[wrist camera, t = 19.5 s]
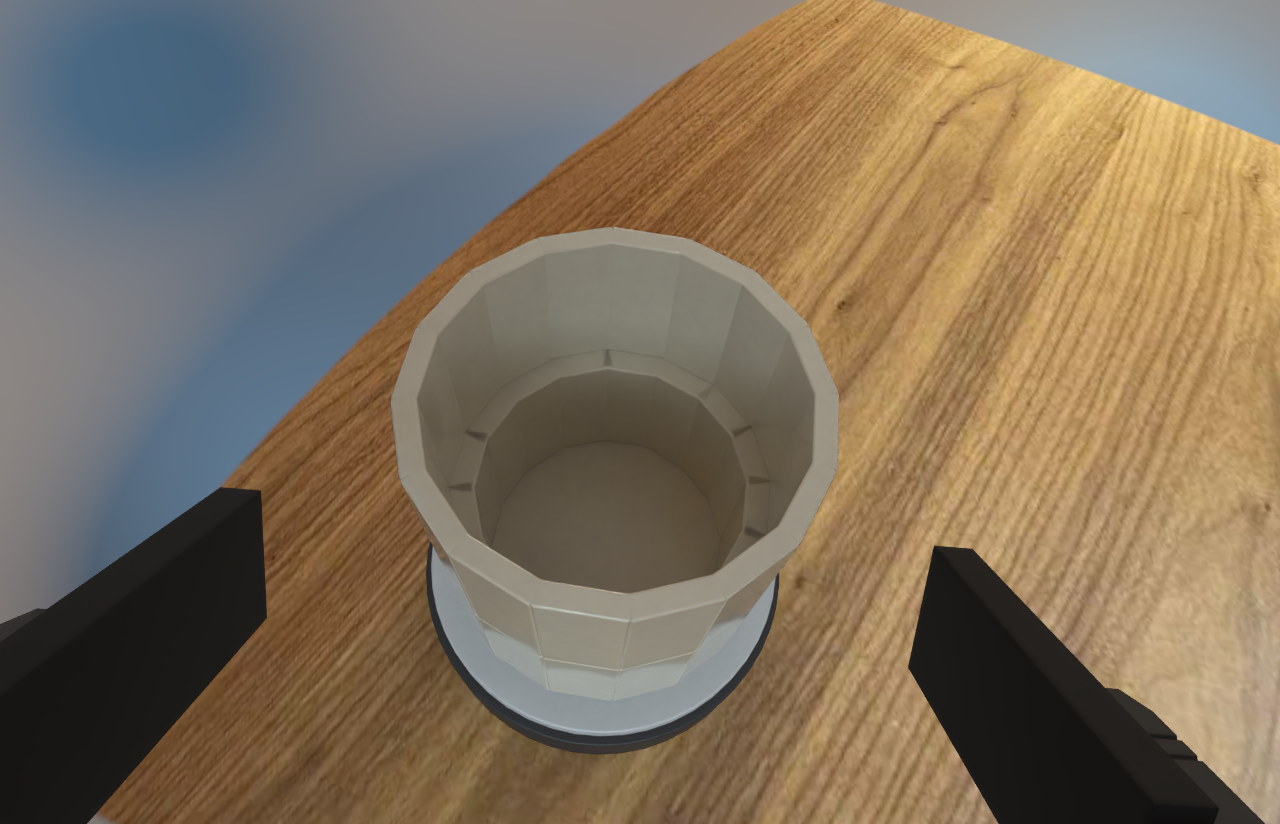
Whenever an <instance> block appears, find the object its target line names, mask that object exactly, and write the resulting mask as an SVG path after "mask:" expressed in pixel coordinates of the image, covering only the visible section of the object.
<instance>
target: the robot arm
mask: <svg viewBox="0 0 1280 824" xmlns="http://www.w3.org/2000/svg"><path fill="white" fill-rule="evenodd" d="M266 618H267V610H266V589H265V568H264V546H263V525H262V503H261V491H259V490H247V489H235V488H223V487H220V488H219V489H217V490H216V491H215V492H213V493H212V494H210V495H209V496H208V497H206V498H205V499H203V500H202V501H200V502H199V503H198V504H196V505H195V506H193V507H192V508H190V509H189V510H187V511H186V512H185V513H183V514H182V515H180V516H179V517H178V518H176V519H175V520H173V521H172V522H170V523H169V524H168V525H166V526H165V527H163V528H162V529H160V530H159V531H158V532H156V533H155V534H153V535H152V536H150V537H149V538H148V539H146V540H145V541H143V542H142V543H141V544H139V545H138V546H136V547H135V548H134V549H132V550H131V551H129V552H128V553H126V554H125V555H124V556H122V557H121V558H119V559H118V560H116V561H115V562H114V563H112V564H111V565H109V566H108V567H106V568H105V569H103V570H102V571H101V572H99V573H98V574H97V575H95V576H94V577H92V578H91V579H89V580H88V581H86V582H85V583H84V584H82V585H81V586H79V587H78V588H76V589H75V590H74V591H72V592H71V593H70V594H68V595H66V596H65V597H64V598H62V599H61V600H59V601H58V602H57V603H55V604H54V605H52V606H51V607H49V608H48V609H35V610H33V611H30V612H28V613H26V614H23V615H21V616H18V617H16V618H14V619H11V620H9V621H7V622H4V623H2V624H0V824H87V823H88V822H89V821H90V820H91V819H92V817H93V816H94V815H95V814H96V813H97V812H98V811H99V809H100V808H101V807H102V806H103V805H104V804H105V803H106V801H107V800H108V799H109V798H110V797H111V796H112V795H113V793H114V792H115V791H116V790H117V789H118V788H119V787H120V785H121V784H122V783H123V782H124V781H125V780H126V778H127V777H128V776H129V775H130V774H131V773H132V772H133V770H134V769H135V768H136V767H137V766H138V765H139V764H140V762H141V761H142V760H143V759H144V758H145V757H146V756H147V754H148V753H149V752H150V751H151V750H152V749H153V748H154V746H155V745H156V744H157V743H158V742H159V741H160V740H161V738H162V737H163V736H164V735H165V734H166V733H167V732H168V730H169V729H170V728H171V727H172V726H173V725H174V724H175V722H176V721H177V720H178V719H179V718H180V717H181V716H182V714H183V713H184V712H185V711H186V710H187V709H188V708H189V706H190V705H191V704H192V703H193V702H194V701H195V700H196V698H197V697H198V696H199V695H200V694H201V693H202V691H203V690H204V689H205V688H206V687H207V686H208V685H209V683H210V682H211V681H212V680H213V679H214V678H215V677H216V675H217V674H218V673H219V672H220V671H221V670H222V669H223V667H224V666H225V665H226V664H227V663H228V662H229V661H230V659H231V658H232V657H233V656H234V655H235V654H236V653H237V651H238V650H239V649H240V648H241V647H242V646H243V645H244V643H245V642H246V641H247V640H248V639H249V638H250V637H251V635H252V634H253V633H254V632H255V631H256V630H257V629H258V627H259V626H260V625H261V624H262V623H263V622H264V621H265V619H266ZM908 668H909V670H910V671H911V673H912V675H913V676H914V678H915V680H916V682H917V683H918V685H919V687H920V689H921V690H922V692H923V694H924V695H925V697H926V699H927V701H928V702H929V704H930V706H931V708H932V709H933V711H934V713H935V715H936V716H937V718H938V720H939V721H940V723H941V725H942V727H943V728H944V730H945V732H946V734H947V735H948V737H949V739H950V740H951V742H952V744H953V746H954V747H955V749H956V751H957V753H958V754H959V756H960V758H961V759H962V761H963V763H964V765H965V766H966V768H967V770H968V772H969V773H970V775H971V777H972V779H973V780H974V782H975V784H976V785H977V787H978V789H979V791H980V792H981V794H982V796H983V798H984V799H985V801H986V803H987V804H988V806H989V808H990V810H991V811H992V813H993V815H994V817H995V818H996V820H997V822H998V823H999V824H1265V823H1264V822H1263V821H1262V820H1261V819H1260V818H1259V817H1258V816H1257V815H1256V814H1255V813H1254V812H1253V811H1252V810H1251V809H1250V808H1249V807H1248V806H1247V805H1246V804H1245V803H1244V802H1243V801H1242V800H1241V799H1240V798H1239V797H1238V796H1237V795H1236V794H1235V793H1234V792H1233V791H1232V790H1231V789H1230V788H1229V787H1228V786H1227V785H1226V784H1225V783H1224V782H1223V781H1222V780H1221V779H1220V778H1219V777H1218V776H1217V775H1216V774H1215V773H1214V772H1213V771H1212V770H1211V769H1210V768H1209V767H1208V766H1207V765H1206V764H1205V763H1204V762H1203V761H1198V759H1197V755H1196V754H1195V753H1194V752H1193V751H1192V750H1191V749H1190V748H1189V747H1188V746H1187V745H1186V744H1185V743H1184V742H1183V741H1180V740H1177V735H1176V734H1175V733H1174V732H1173V731H1172V730H1171V729H1170V728H1169V727H1168V726H1167V725H1166V724H1165V723H1164V722H1163V721H1162V720H1161V719H1160V718H1159V717H1158V716H1157V715H1156V714H1155V713H1154V712H1153V711H1151V710H1150V709H1148V708H1147V707H1145V706H1144V705H1142V704H1141V703H1139V702H1137V701H1136V700H1134V699H1133V698H1131V697H1130V696H1128V695H1127V694H1125V693H1124V692H1122V691H1121V690H1119V689H1112V688H1105V687H1104V686H1103V685H1102V684H1101V683H1100V682H1099V681H1098V680H1097V679H1096V678H1095V677H1094V676H1093V675H1092V674H1091V673H1090V672H1089V671H1088V670H1087V669H1086V668H1085V667H1084V665H1083V664H1082V663H1081V662H1080V661H1079V660H1078V659H1077V658H1076V657H1075V656H1074V655H1073V654H1072V653H1071V652H1070V651H1069V650H1068V649H1067V648H1066V647H1065V646H1064V644H1063V643H1062V642H1061V641H1060V640H1059V639H1058V638H1057V637H1056V636H1055V635H1054V634H1053V633H1052V632H1051V631H1050V630H1049V629H1048V628H1047V627H1046V626H1045V625H1044V624H1043V622H1042V621H1041V620H1040V619H1039V618H1038V617H1037V616H1036V615H1035V614H1034V613H1033V612H1032V611H1031V610H1030V609H1029V608H1028V607H1027V606H1026V605H1025V604H1024V603H1023V601H1022V600H1021V599H1020V598H1019V597H1018V596H1017V595H1016V594H1015V593H1014V592H1013V591H1012V590H1011V589H1010V588H1009V587H1008V586H1007V585H1006V584H1005V583H1004V582H1003V581H1002V579H1001V578H1000V577H999V576H998V575H997V574H996V573H995V572H994V571H993V570H992V569H991V568H990V567H989V566H988V565H987V564H986V563H985V562H984V561H983V560H982V558H981V557H980V556H979V555H978V554H977V553H976V552H975V551H974V550H973V549H968V548H956V547H944V546H934V549H933V553H932V558H931V563H930V567H929V572H928V577H927V581H926V586H925V591H924V595H923V600H922V605H921V609H920V614H919V619H918V623H917V628H916V633H915V637H914V642H913V647H912V651H911V656H910V661H909V665H908Z"/></svg>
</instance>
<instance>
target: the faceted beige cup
mask: <svg viewBox="0 0 1280 824" xmlns="http://www.w3.org/2000/svg"><path fill="white" fill-rule="evenodd" d="M390 405H391V413H392V422H393V431H394V440H395V448H396V457H397V466H398V475H399V479H400V481H401V484H402V486H403V488H404V490H405V492H406V494H407V496H408V498H409V500H410V502H411V504H412V506H413V508H414V510H415V512H416V514H417V516H418V518H419V520H420V522H421V524H422V526H423V528H424V530H425V532H426V534H427V536H428V537H429V539H430V541H431V543H432V545H433V547H434V549H435V551H436V553H437V555H438V557H439V559H440V561H441V563H442V565H443V567H444V569H445V571H446V573H447V575H448V577H449V579H450V581H451V583H452V585H453V587H454V589H455V591H456V593H457V594H458V596H459V598H460V600H461V602H462V604H463V606H464V608H465V609H466V611H467V612H468V614H469V616H470V617H471V619H472V620H473V622H474V623H475V625H476V627H477V628H478V630H479V631H480V633H481V634H482V636H483V638H484V639H485V641H486V642H487V644H488V645H489V647H490V649H491V650H492V652H493V653H494V654H495V655H496V657H498V658H499V659H501V660H502V661H504V662H505V663H507V664H508V665H510V666H511V667H513V668H514V669H516V670H517V671H519V672H520V673H522V674H524V675H525V676H527V677H528V678H530V679H531V680H533V681H534V682H536V683H537V684H539V685H540V686H542V687H543V688H545V689H546V690H550V691H553V692H559V693H565V694H572V695H578V696H584V697H590V698H596V699H602V700H608V701H611V700H614V701H616V700H620V699H624V698H628V697H632V696H636V695H639V694H643V693H647V692H651V691H655V690H659V689H663V688H667V687H670V686H674V685H675V684H678V683H679V682H680V681H681V680H683V679H684V678H685V677H687V676H688V675H689V674H690V673H692V672H693V671H694V670H695V669H697V668H698V667H699V666H700V665H702V664H703V663H704V662H706V661H707V660H708V659H709V658H711V657H712V656H713V655H714V654H716V653H717V652H718V651H719V650H721V649H722V648H723V647H724V646H725V645H726V643H727V642H728V641H729V639H730V638H731V637H732V635H733V634H734V633H735V631H736V630H737V628H738V627H739V626H740V624H741V623H742V622H743V620H744V619H745V618H746V616H747V615H748V614H749V612H750V611H751V610H752V608H753V607H754V606H755V604H756V603H757V601H758V600H759V599H760V597H761V596H762V595H763V593H764V592H765V591H766V589H767V588H768V586H769V585H770V584H771V582H772V581H773V580H774V578H775V577H776V576H777V574H778V573H779V572H780V570H781V569H782V568H783V566H784V565H785V563H786V562H787V561H788V559H789V558H790V557H791V555H792V554H793V553H794V551H795V550H796V549H797V547H798V546H799V545H800V543H801V542H802V540H803V538H804V536H805V534H806V532H807V530H808V528H809V526H810V524H811V522H812V520H813V518H814V516H815V514H816V512H817V511H818V509H819V507H820V505H821V503H822V501H823V499H824V497H825V495H826V493H827V491H828V489H829V487H830V485H831V483H832V481H833V479H834V477H835V475H836V471H837V469H838V424H839V395H838V391H837V389H836V386H835V384H834V382H833V379H832V377H831V375H830V372H829V370H828V368H827V366H826V363H825V361H824V359H823V356H822V354H821V352H820V349H819V347H818V345H817V342H816V340H815V338H814V336H813V333H812V331H811V329H810V327H809V326H808V323H807V322H806V321H805V320H804V319H803V318H802V317H801V316H800V315H799V314H798V313H797V312H796V311H795V310H794V309H793V308H792V307H791V306H790V305H789V304H788V303H787V302H786V301H785V300H784V299H783V298H782V297H781V296H780V295H779V294H778V293H777V292H776V291H775V290H774V289H773V288H772V287H771V286H770V285H769V284H768V283H767V282H766V281H765V280H764V279H763V278H762V277H761V276H760V275H759V274H758V273H757V272H755V271H754V270H752V269H750V268H748V267H746V266H744V265H742V264H740V263H738V262H736V261H734V260H732V259H730V258H728V257H726V256H724V255H722V254H720V253H717V252H715V251H713V250H711V249H709V248H707V247H705V246H703V245H701V244H699V243H697V242H695V241H693V240H691V239H686V238H682V237H676V236H669V235H663V234H657V233H650V232H644V231H637V230H631V229H624V228H618V227H613V228H611V227H606V228H599V229H592V230H585V231H578V232H571V233H565V234H558V235H551V236H544V237H538V238H537V239H532V240H530V241H528V242H526V243H524V244H522V245H520V246H518V247H516V248H514V249H512V250H510V251H508V252H506V253H504V254H502V255H500V256H498V257H496V258H494V259H492V260H490V261H488V262H486V263H484V264H482V265H480V266H478V267H476V268H474V269H472V270H470V271H469V273H466V274H465V275H464V276H463V277H462V278H461V279H460V281H459V282H458V283H457V284H456V285H455V286H454V287H453V288H452V289H451V290H450V291H449V292H448V293H447V294H446V295H445V297H444V298H443V299H442V300H441V301H440V302H439V303H438V304H437V305H436V306H435V307H434V308H433V309H432V310H431V312H430V313H429V314H428V315H427V316H426V317H425V318H424V319H423V320H422V321H421V322H420V323H419V324H418V326H417V328H416V329H415V331H414V334H413V337H412V340H411V343H410V345H409V348H408V351H407V354H406V357H405V359H404V362H403V365H402V368H401V371H400V373H399V376H398V379H397V382H396V385H395V388H394V390H393V393H392V396H391V402H390Z"/></svg>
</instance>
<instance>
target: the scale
mask: <svg viewBox="0 0 1280 824" xmlns="http://www.w3.org/2000/svg"><path fill="white" fill-rule="evenodd" d="M426 577H427V596H428V601H429V606H430V611H431V616H432V620H433V623H434V626H435V629H436V632H437V635H438V638H439V641H440V643H441V645H442V647H443V649H444V650H445V652H446V654H447V656H448V658H449V660H450V662H451V664H452V665H453V666H454V668H455V669H456V671H457V672H458V674H459V675H460V676H461V678H462V679H463V681H464V682H465V683H466V685H467V686H468V687H469V689H470V690H471V691H472V693H473V694H474V695H475V696H476V697H477V699H478V700H479V701H480V702H481V703H482V704H483V705H484V706H485V707H486V708H487V709H488V710H489V711H490V712H491V713H492V714H494V715H495V716H496V717H497V718H499V719H500V720H501V721H502V722H504V723H505V724H506V725H508V726H509V727H511V728H512V729H514V730H516V731H518V732H519V733H521V734H523V735H525V736H526V737H528V738H530V739H533V740H535V741H538V742H540V743H543V744H545V745H548V746H550V747H554V748H558V749H562V750H567V751H571V752H577V753H587V754H615V753H624V752H630V751H635V750H640V749H645V748H647V747H650V746H653V745H656V744H659V743H662V742H665V741H667V740H669V739H671V738H673V737H675V736H677V735H679V734H681V733H683V732H685V731H686V730H688V729H689V728H691V727H692V726H694V725H695V724H696V723H698V722H699V721H701V720H702V719H703V718H705V717H706V716H707V715H708V714H709V713H710V712H711V711H712V710H714V709H715V708H716V707H717V706H718V705H719V704H720V703H721V702H722V701H723V700H724V699H725V698H726V697H727V696H728V695H729V694H730V693H731V692H732V691H733V690H734V689H735V688H736V687H737V685H738V684H739V683H740V682H741V680H742V679H743V678H744V677H745V675H746V674H747V673H748V672H749V670H750V669H751V667H752V665H753V664H754V662H755V660H756V659H757V657H758V655H759V654H760V652H761V650H762V648H763V645H764V643H765V641H766V638H767V636H768V633H769V631H770V629H771V625H772V621H773V617H774V614H775V610H776V605H777V597H778V589H779V573H778V574H777V576H776V577H775V578H774V580H773V581H772V582H771V584H770V585H769V586H768V588H767V589H766V591H765V592H764V593H763V595H762V596H761V597H760V599H759V600H758V601H757V603H756V604H755V606H754V607H753V608H752V610H751V611H750V612H749V614H748V615H747V616H746V618H745V619H744V620H743V622H742V623H741V624H740V626H739V627H738V628H737V630H736V631H735V633H734V634H733V635H732V637H731V638H730V639H729V641H728V642H727V643H726V645H725V646H724V647H723V648H722V649H721V650H719V651H718V652H717V653H716V654H714V655H713V656H712V657H711V658H709V659H708V660H707V661H706V662H704V663H703V664H702V665H700V666H699V667H698V668H697V669H695V670H694V671H693V672H692V673H690V674H689V675H688V676H687V677H685V678H684V679H683V680H681V681H680V682H679V683H678V684H675V685H674V686H670V687H667V688H663V689H659V690H655V691H651V692H647V693H643V694H639V695H636V696H632V697H628V698H624V699H620V700H616V701H614V700H611V701H608V700H602V699H596V698H590V697H584V696H578V695H572V694H565V693H559V692H553V691H550V690H546V689H545V688H543V687H542V686H540V685H539V684H537V683H536V682H534V681H533V680H531V679H530V678H528V677H527V676H525V675H524V674H522V673H520V672H519V671H517V670H516V669H514V668H513V667H511V666H510V665H508V664H507V663H505V662H504V661H502V660H501V659H499V658H498V657H496V655H495V654H494V653H493V652H492V650H491V649H490V647H489V645H488V644H487V642H486V641H485V639H484V638H483V636H482V634H481V633H480V631H479V630H478V628H477V627H476V625H475V623H474V622H473V620H472V619H471V617H470V616H469V614H468V612H467V611H466V609H465V608H464V606H463V604H462V602H461V600H460V598H459V596H458V594H457V593H456V591H455V589H454V587H453V585H452V583H451V581H450V579H449V577H448V575H447V573H446V571H445V569H444V567H443V565H442V563H441V561H440V559H439V557H438V555H437V553H436V551H435V549H434V547H433V545H432V543H431V541H430V544H429V549H428V559H427V570H426Z"/></svg>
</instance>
